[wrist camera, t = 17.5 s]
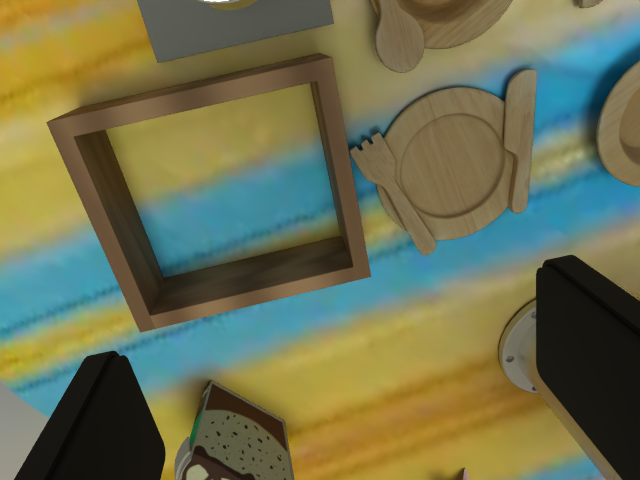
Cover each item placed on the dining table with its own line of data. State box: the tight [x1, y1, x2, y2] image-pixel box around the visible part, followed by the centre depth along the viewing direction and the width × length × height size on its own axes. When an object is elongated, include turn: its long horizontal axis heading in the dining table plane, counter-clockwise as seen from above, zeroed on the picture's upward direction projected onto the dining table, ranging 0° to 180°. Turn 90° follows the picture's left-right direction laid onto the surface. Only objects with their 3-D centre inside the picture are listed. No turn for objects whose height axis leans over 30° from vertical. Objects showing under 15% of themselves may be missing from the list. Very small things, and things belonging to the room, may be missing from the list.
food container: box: [175, 380, 294, 480], centre depth 44 cm, size 12×6×10 cm, turn 49°
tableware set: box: [349, 0, 640, 255], centre depth 36 cm, size 35×29×4 cm
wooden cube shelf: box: [46, 53, 371, 332], centre depth 36 cm, size 18×16×6 cm
